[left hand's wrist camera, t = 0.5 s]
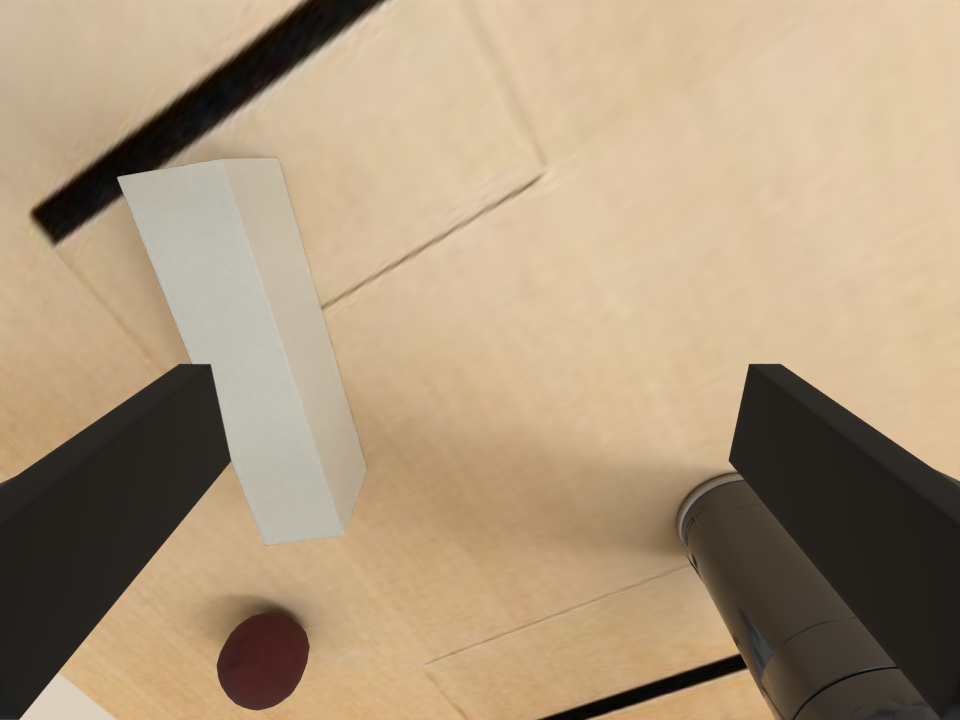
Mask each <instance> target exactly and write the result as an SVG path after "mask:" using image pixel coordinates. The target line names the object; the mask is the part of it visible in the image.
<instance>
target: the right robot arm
mask: <svg viewBox="0 0 960 720" xmlns="http://www.w3.org/2000/svg"><path fill="white" fill-rule="evenodd" d="M677 532H678V536H679V538H680V540H681V542H682V544H683V546H684V548H685V549H686V551H687V552H688V553H689V555H690V557H691V559H692V561H693V563H694V565H695V567H696V568H695V567H694V565H693V564H692V562H691V561H690V559H689V558H688V559H689V561H690V563H691V565H692V566H693V568H694V569H695V571H696V572H697V574H698V575H699V577H700V578H701V580H702V581H703V583H704V584H705V586H706V588H707V590H708V592H709V594H710V596H711V598H712V600H713V602H714V604H715V605H716V607H717V609H718V611H719V613H720V615H721V617H722V619H723V621H724V623H725V625H726V627H727V628H728V630H729V632H730V634H731V636H732V638H733V640H734V642H735V644H736V646H737V648H738V650H739V652H740V653H741V655H742V657H743V659H744V661H745V663H746V665H747V667H748V669H749V671H750V673H751V675H752V676H753V678H754V680H755V682H756V684H757V686H758V688H759V690H760V692H761V694H762V696H763V698H764V699H765V701H766V703H767V705H768V707H769V709H770V711H771V713H772V715H773V716H774V718H775V720H941V719H940V718H939V717H938V716H937V714H936V713H935V712H934V711H933V709H932V708H931V707H930V706H929V705H928V703H927V702H926V701H925V700H924V698H923V697H922V696H921V695H920V694H919V692H918V691H917V690H916V689H915V687H914V686H913V685H912V684H911V683H910V681H909V680H908V679H907V678H906V676H905V675H904V674H903V673H902V672H901V670H900V669H899V668H898V667H897V666H896V664H895V663H894V662H893V661H892V659H891V658H890V657H889V656H888V655H887V653H886V652H885V651H884V650H883V648H882V647H881V646H880V645H879V644H878V642H877V641H876V640H875V639H874V637H873V636H872V635H871V634H870V633H869V631H868V630H867V629H866V628H865V626H864V625H863V624H862V623H861V622H860V620H859V619H858V618H857V617H856V615H855V614H854V613H853V612H852V611H851V609H850V608H849V607H848V606H847V605H846V603H845V602H844V601H843V600H842V598H841V597H840V596H839V595H838V594H837V592H836V591H835V590H834V589H833V587H832V586H831V585H830V584H829V583H828V581H827V580H826V579H825V578H824V576H823V575H822V574H821V573H820V572H819V570H818V569H817V568H816V567H815V565H814V564H813V563H812V562H811V561H810V559H809V558H808V557H807V556H806V554H805V553H804V552H803V551H802V550H801V548H800V547H799V546H798V545H797V544H796V542H795V541H794V540H793V539H792V537H791V536H790V535H789V534H788V533H787V531H786V530H785V529H784V528H783V526H782V525H781V524H780V523H779V522H778V520H777V519H776V518H775V517H774V515H773V514H772V513H771V512H770V511H769V509H768V508H767V507H766V506H765V504H764V503H763V502H762V501H761V500H760V498H759V497H758V496H757V495H756V493H755V492H754V491H753V490H752V489H751V487H750V486H749V485H748V484H747V483H746V481H745V480H744V479H743V478H742V476H741V475H740V474H739V473H735V474H728V475H724V476H720V477H717V478H715V479H712V480H710V481H708V482H706V483H705V484H703V485H701V486H700V487H699V488H697V489H696V490H695V491H694V492H693V493H691V495H690V496H689V497H688V498H687V499H686V500H685V502H684V503H683V505H682V507H681V509H680V511H679V514H678V518H677ZM687 557H688V556H687ZM696 569H697V570H696Z"/></svg>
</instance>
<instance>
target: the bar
mask: <svg viewBox="0 0 960 720" xmlns="http://www.w3.org/2000/svg"><path fill="white" fill-rule="evenodd" d="M117 179H118V181H119V184H120V186H121V188H122V191H123V193H124V196H125V198H126V201H127V203H128V206H129V208H130V211H131V213H132V216H133V218H134V221H135V223H136V226H137V228H138V231H139V233H140V236H141V238H142V241H143V243H144V246H145V248H146V251H147V253H148V256H149V258H150V261H151V263H152V266H153V268H154V271H155V273H156V275H157V278H158V280H159V283H160V285H161V288H162V290H163V293H164V295H165V298H166V300H167V303H168V305H169V308H170V310H171V313H172V315H173V318H174V320H175V323H176V325H177V328H178V330H179V333H180V335H181V338H182V340H183V343H184V345H185V348H186V350H187V353H188V355H189V358H190V360H191V362H192V364H211V367H212V372H213V377H214V381H215V386H216V391H217V395H218V400H219V405H220V410H221V414H222V419H223V424H224V428H225V433H226V438H227V442H228V447H229V452H230V456H231V462H232V464H233V467H234V469H235V472H236V474H237V477H238V479H239V482H240V484H241V487H242V489H243V492H244V494H245V497H246V499H247V502H248V504H249V507H250V509H251V512H252V514H253V517H254V519H255V522H256V524H257V527H258V529H259V532H260V534H261V536H262V539H263V541H264V544H265V545H274V544H282V543H290V542H298V541H306V540H313V539H321V538H329V537H337V536H344V534H345V531H346V529H347V526H348V523H349V520H350V517H351V515H352V512H353V509H354V506H355V504H356V501H357V498H358V495H359V492H360V490H361V487H362V484H363V481H364V478H365V476H366V473H367V467H366V463H365V460H364V456H363V453H362V449H361V446H360V442H359V439H358V435H357V432H356V428H355V425H354V421H353V418H352V414H351V411H350V408H349V404H348V401H347V397H346V394H345V390H344V387H343V383H342V380H341V376H340V373H339V369H338V366H337V362H336V359H335V355H334V352H333V348H332V345H331V341H330V338H329V334H328V331H327V327H326V324H325V320H324V317H323V313H322V310H321V306H320V303H319V299H318V296H317V292H316V289H315V285H314V282H313V278H312V275H311V271H310V268H309V264H308V261H307V257H306V254H305V250H304V247H303V243H302V240H301V236H300V233H299V229H298V226H297V222H296V219H295V215H294V212H293V208H292V205H291V201H290V198H289V194H288V191H287V187H286V184H285V180H284V177H283V173H282V170H281V166H280V163H279V159H278V158H240V159H217V160H212V161H206V162H200V163H194V164H189V165H183V166H177V167H172V168H166V169H160V170H155V171H149V172H143V173H137V174H132V175H126V176H120V177H117Z"/></svg>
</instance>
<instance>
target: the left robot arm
mask: <svg viewBox="0 0 960 720" xmlns="http://www.w3.org/2000/svg"><path fill="white" fill-rule="evenodd" d="M230 462H231V456H230V452H229V447H228V442H227V438H226V433H225V428H224V424H223V419H222V414H221V410H220V405H219V400H218V395H217V391H216V386H215V381H214V377H213V372H212V367H211V364H179V365H177V366H176V367H174V368H173V369H171V370H170V371H168V372H167V373H166V374H164V375H163V376H161V377H160V378H158V379H157V380H155V381H154V382H152V383H151V384H150V385H148V386H147V387H145V388H144V389H142V390H141V391H139V392H138V393H136V394H135V395H134V396H132V397H131V398H129V399H128V400H126V401H125V402H123V403H122V404H120V405H119V406H118V407H116V408H115V409H113V410H112V411H110V412H109V413H107V414H106V415H104V416H103V417H102V418H100V419H99V420H97V421H96V422H94V423H93V424H91V425H90V426H88V427H87V428H86V429H84V430H83V431H81V432H80V433H78V434H77V435H75V436H74V437H72V438H71V439H70V440H68V441H67V442H65V443H64V444H62V445H61V446H59V447H58V448H56V449H55V450H54V451H52V452H51V453H49V454H48V455H46V456H45V457H43V458H42V459H40V460H39V461H38V462H36V463H35V464H33V465H32V466H30V467H29V468H27V469H26V470H24V471H23V472H22V473H20V474H19V475H17V476H15V477H13V478H11V479H9V480H7V481H5V482H2V483H0V720H19V719H20V718H21V717H22V716H23V714H24V713H25V712H26V711H27V709H28V708H29V707H30V706H31V705H32V703H33V702H34V701H35V700H36V698H37V697H38V696H39V695H40V694H41V692H42V691H43V690H44V689H45V687H46V686H47V685H48V684H49V683H50V681H51V680H52V679H53V678H54V676H55V675H56V674H57V673H58V672H59V670H60V669H61V668H62V667H63V666H64V664H65V663H66V662H67V661H68V659H69V658H70V657H71V656H72V655H73V653H74V652H75V651H76V650H77V648H78V647H79V646H80V645H81V644H82V642H83V641H84V640H85V639H86V637H87V636H88V635H89V634H90V633H91V631H92V630H93V629H94V628H95V626H96V625H97V624H98V623H99V622H100V620H101V619H102V618H103V617H104V615H105V614H106V613H107V612H108V611H109V609H110V608H111V607H112V606H113V605H114V603H115V602H116V601H117V600H118V598H119V597H120V596H121V595H122V594H123V592H124V591H125V590H126V589H127V587H128V586H129V585H130V584H131V583H132V581H133V580H134V579H135V578H136V576H137V575H138V574H139V573H140V572H141V570H142V569H143V568H144V567H145V565H146V564H147V563H148V562H149V561H150V559H151V558H152V557H153V556H154V554H155V553H156V552H157V551H158V550H159V548H160V547H161V546H162V545H163V544H164V542H165V541H166V540H167V539H168V537H169V536H170V535H171V534H172V533H173V531H174V530H175V529H176V528H177V526H178V525H179V524H180V523H181V522H182V520H183V519H184V518H185V517H186V515H187V514H188V513H189V512H190V511H191V509H192V508H193V507H194V506H195V504H196V503H197V502H198V501H199V500H200V498H201V497H202V496H203V495H204V493H205V492H206V491H207V490H208V489H209V487H210V486H211V485H212V484H213V483H214V481H215V480H216V479H217V478H218V476H219V475H220V474H221V473H222V472H223V470H224V469H225V468H226V467H227V465H228V464H229V463H230ZM729 462H730V463H731V464H732V465H733V467H734V468H735V469H736V470H737V472H738V473H739V474H740V475H741V476H742V478H743V479H744V480H745V481H746V483H747V484H748V485H749V486H750V487H751V489H752V490H753V491H754V492H755V493H756V495H757V496H758V497H759V498H760V500H761V501H762V502H763V503H764V504H765V506H766V507H767V508H768V509H769V511H770V512H771V513H772V514H773V515H774V517H775V518H776V519H777V520H778V522H779V523H780V524H781V525H782V526H783V528H784V529H785V530H786V531H787V533H788V534H789V535H790V536H791V537H792V539H793V540H794V541H795V542H796V544H797V545H798V546H799V547H800V548H801V550H802V551H803V552H804V553H805V554H806V556H807V557H808V558H809V559H810V561H811V562H812V563H813V564H814V565H815V567H816V568H817V569H818V570H819V572H820V573H821V574H822V575H823V576H824V578H825V579H826V580H827V581H828V583H829V584H830V585H831V586H832V587H833V589H834V590H835V591H836V592H837V594H838V595H839V596H840V597H841V598H842V600H843V601H844V602H845V603H846V605H847V606H848V607H849V608H850V609H851V611H852V612H853V613H854V614H855V615H856V617H857V618H858V619H859V620H860V622H861V623H862V624H863V625H864V626H865V628H866V629H867V630H868V631H869V633H870V634H871V635H872V636H873V637H874V639H875V640H876V641H877V642H878V644H879V645H880V646H881V647H882V648H883V650H884V651H885V652H886V653H887V655H888V656H889V657H890V658H891V659H892V661H893V662H894V663H895V664H896V666H897V667H898V668H899V669H900V670H901V672H902V673H903V674H904V675H905V676H906V678H907V679H908V680H909V681H910V683H911V684H912V685H913V686H914V687H915V689H916V690H917V691H918V692H919V694H920V695H921V696H922V697H923V698H924V700H925V701H926V702H927V703H928V705H929V706H930V707H931V708H932V709H933V711H934V712H935V713H936V714H937V716H938V717H939V718H940V719H941V720H960V481H958V480H956V479H954V478H952V477H950V476H947V475H945V474H943V473H941V472H939V471H937V470H935V469H933V468H931V467H930V466H928V465H927V464H925V463H924V462H922V461H921V460H920V459H918V458H917V457H915V456H914V455H912V454H911V453H909V452H908V451H906V450H905V449H904V448H902V447H901V446H899V445H898V444H896V443H895V442H893V441H892V440H890V439H889V438H888V437H886V436H885V435H883V434H882V433H880V432H879V431H877V430H876V429H874V428H873V427H872V426H870V425H869V424H867V423H866V422H864V421H863V420H861V419H860V418H858V417H857V416H856V415H854V414H853V413H851V412H850V411H848V410H847V409H845V408H844V407H842V406H841V405H840V404H838V403H837V402H835V401H834V400H832V399H831V398H829V397H828V396H826V395H825V394H824V393H822V392H821V391H819V390H818V389H816V388H815V387H813V386H812V385H810V384H809V383H808V382H806V381H805V380H803V379H802V378H800V377H799V376H797V375H796V374H794V373H793V372H792V371H790V370H789V369H787V368H786V367H784V366H783V365H781V364H749V367H748V372H747V377H746V381H745V386H744V391H743V395H742V400H741V405H740V410H739V414H738V419H737V424H736V428H735V433H734V438H733V442H732V447H731V452H730V456H729Z"/></svg>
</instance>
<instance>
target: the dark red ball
mask: <svg viewBox="0 0 960 720" xmlns="http://www.w3.org/2000/svg"><path fill="white" fill-rule="evenodd" d="M308 653H309V643H308V638H307V635H306V632H305V631H304V629H303V628H302V627H301V626H300V625H299V624H297V623H296V622H294V621H292V620H290V619H288V618H287V617H285V616H282V615H278V614H275V613H265V614H260V615H255V616H252V617H250V618H248V619H247V620H245V621H244V622H242V623H241V624H240V625H238V626H237V627H236V628H235V629H234V630H233V632H232V633H231V634H230V636H229V638H228V639H227V641H226V643H225V645H224V646H223V648H222V650H221V652H220V655H219V659H218V662H217V671H218V678H219V681H220V684H221V687H222V688H223V690H224V691H225V693H226V694H227V696H228V697H229V698H230V699H231V700H232V701H233V702H234V703H235V704H237V705H239V706H242V707H244V708H247V709H251V710H262V709H266V708H270V707H273V706H275V705H277V704H279V703H280V702H282V701H283V700H284V699H286V698H287V697H288V696H290V695H291V693H292V692H293V691H294V690H295V688H296V686H297V685H298V683H299V682H300V680H301V677H302V675H303V672H304V670H305V667H306V664H307V659H308Z"/></svg>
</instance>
